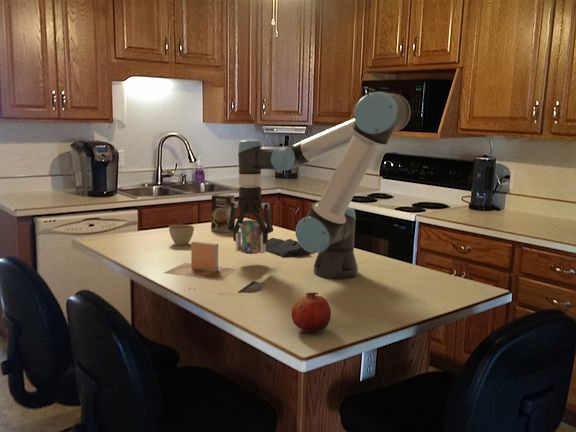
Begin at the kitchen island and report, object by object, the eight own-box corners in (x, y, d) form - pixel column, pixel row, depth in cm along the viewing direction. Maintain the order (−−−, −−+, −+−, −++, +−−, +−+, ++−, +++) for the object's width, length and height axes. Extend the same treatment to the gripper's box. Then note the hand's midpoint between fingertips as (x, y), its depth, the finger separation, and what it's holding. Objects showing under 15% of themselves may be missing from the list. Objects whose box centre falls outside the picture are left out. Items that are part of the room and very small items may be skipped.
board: (237, 273, 199) (237, 269, 199) (219, 284, 186) (219, 280, 186) (184, 266, 205) (184, 262, 205) (163, 277, 192) (163, 272, 192)
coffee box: (210, 231, 265) (210, 195, 263) (214, 228, 272) (215, 193, 269) (230, 232, 264) (230, 196, 261) (234, 229, 270) (234, 194, 267)
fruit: (312, 342, 143) (314, 302, 141) (282, 331, 149) (283, 292, 147) (339, 330, 150) (341, 292, 149) (309, 320, 157) (310, 284, 155)
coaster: (267, 284, 188) (267, 282, 188) (253, 294, 178) (253, 292, 177) (235, 280, 191) (235, 278, 191) (220, 289, 181) (220, 287, 181)
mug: (239, 249, 209) (238, 220, 208) (265, 249, 210) (265, 219, 208) (237, 257, 198) (236, 226, 196) (265, 257, 198) (264, 225, 196)
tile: (218, 270, 197) (218, 243, 196) (215, 271, 195) (215, 244, 194) (193, 266, 200) (194, 240, 198) (191, 268, 198) (191, 242, 197)
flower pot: (199, 243, 241) (199, 226, 239) (182, 248, 232) (182, 230, 231) (180, 240, 246) (180, 223, 245) (163, 244, 238) (163, 227, 236)
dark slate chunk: (282, 243, 247) (283, 232, 246) (317, 254, 230) (317, 242, 229) (252, 248, 238) (252, 236, 237) (286, 260, 221) (286, 247, 220)
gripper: (283, 186, 200) (283, 251, 204) (226, 183, 207) (227, 247, 211) (275, 188, 193) (275, 256, 197) (216, 186, 200) (218, 251, 204)
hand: (250, 251), depth 204 cm, fingers closed on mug, 8 cm apart
